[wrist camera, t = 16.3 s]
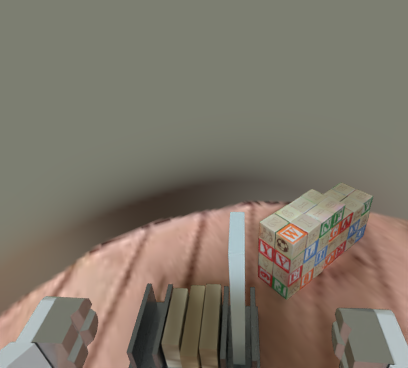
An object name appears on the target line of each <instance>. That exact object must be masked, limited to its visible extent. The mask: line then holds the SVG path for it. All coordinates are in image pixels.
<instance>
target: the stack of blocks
mask: <svg viewBox="0 0 408 368" xmlns="http://www.w3.org/2000/svg"><path fill="white" fill-rule="evenodd" d="M372 199H373V196H371V195H369V194H367V193H365V192H363V191H360V190H358V189H355V188H353V187H351V186H348V185H346V184H344V183H342V182H341V183H339V184H338V185H336V186H335V187H333V188H332V189H330V190H329V191H327V192H326V193H324V194H322V193H319V192H318V191H316V190H314V189H311V190H309V191H308V192H306V193H305V194H303V195H302V196H301V197H299V198H298V199H296V200H294V201H293V202H291V203H290V204H289V205H286V206H285V207H283V208H281V209H280V210H278V211H277V212H275V214H272V215H270V216H268V217H267V218H265V219H264V220H262V221H261V222H260V233H259V236H260V237H259V247H258V248H259V249H258V251H259V264H258V277H259V278H261V279H262V280H263V281H264V282H265V283H267V284H268V285H269V286H270V287H272V288H273V289H274V290H275V291H277V292H278V293H279V294H280V295H281V296H283V297H284V298H285V299H286V300H287V299H288V298H290V297H291V296H292V295H293V294H295V293H296V292H297V291H298V290H300V289H301V288H303V287H304V286H305V285H306V284H307V283H309V282H310V281H311V280H312V279H313V278H315V277H316V276H317V275H318V274H320V273H321V272H322V271H323V269H324V268H326V267H327V266H328V265H329V264H330V263H332V262H333V260H335V259H336V258H337V257H338V256H339V255H341V254H342V253H343V252H345V251H346V250H347V249H349V248H350V247H351V246H352V245H353V244H354V243H356V242H357V241H358V240H359V239H360V238H361V237H363V235H364V231H365V227H366V223H367V221H368V217H369V213H370V207H371V203H372Z"/></svg>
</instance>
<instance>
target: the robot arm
mask: <svg viewBox="0 0 408 368" xmlns="http://www.w3.org/2000/svg"><path fill="white" fill-rule="evenodd" d="M91 306H92V303H91V301H90V300H89V298H68V297H49V296H46V297H44V298H43V299H42V300H41V301H40V303H39V304H38V306H37V308H36V309H35V311H34V313H33V314H32V316H31V317H30V319H29V321H28V322H27V324H26V326H25V327H24V329H23V330H22V332H21V334H20V335H19V337H18V339H17V340H16V342H10V343H9V344H8V345H7V346H5V347H4V348H3V349H1V350H0V368H83V365H84V363H85V360H86V358H87V356H88V350H87V346H88V345H89V344H90V343H91V342H92V341H93V340H94V338H95V335H96V333H97V328H98V316H97V314H96V312H95V311H93V310H92V309H90V308H91ZM335 316H336V320H337V321H335V322H334V323H333V325H332V343H333V348H334V353H335V355H336V356H337V357H338V358H339V359H340V360H341V361H340V365H339V368H408V345H407V343H406V340H405V338H404V336H403V334H402V331H401V329H400V327H399V324H398V322H397V320H396V317H395V315H394V313H393V312H392V311H391V310H386V309H365V308H338V309H336V313H335Z"/></svg>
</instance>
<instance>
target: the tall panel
mask: <svg viewBox="0 0 408 368" xmlns="http://www.w3.org/2000/svg"><path fill="white" fill-rule="evenodd" d="M228 259H229V280H230V302H231V323H232V344H233V364H239V365H245V233H244V212H230V229H229V248H228Z"/></svg>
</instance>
